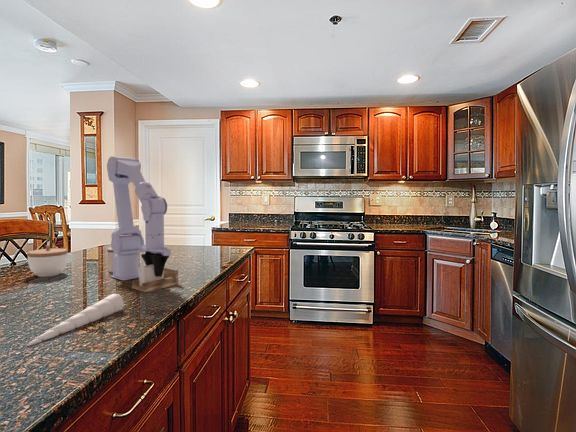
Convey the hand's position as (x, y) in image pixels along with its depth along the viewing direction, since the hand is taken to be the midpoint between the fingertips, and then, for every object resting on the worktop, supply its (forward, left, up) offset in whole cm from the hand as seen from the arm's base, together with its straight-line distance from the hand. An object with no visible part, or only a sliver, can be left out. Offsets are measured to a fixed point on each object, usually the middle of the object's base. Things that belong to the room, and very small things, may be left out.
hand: (155, 275), depth 113 cm
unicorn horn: (+17, -30, -4) cm, 34 cm away
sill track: (0, 0, -4) cm, 4 cm away
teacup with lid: (-34, +6, -4) cm, 35 cm away
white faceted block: (0, -1, -3) cm, 3 cm away
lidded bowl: (-47, -15, -4) cm, 49 cm away
